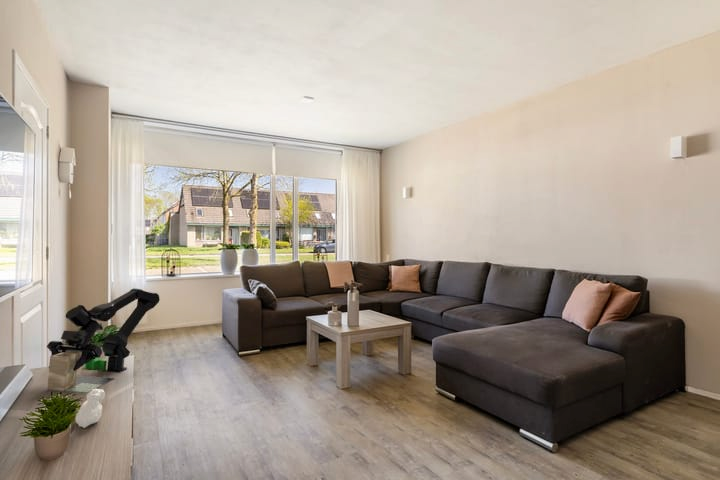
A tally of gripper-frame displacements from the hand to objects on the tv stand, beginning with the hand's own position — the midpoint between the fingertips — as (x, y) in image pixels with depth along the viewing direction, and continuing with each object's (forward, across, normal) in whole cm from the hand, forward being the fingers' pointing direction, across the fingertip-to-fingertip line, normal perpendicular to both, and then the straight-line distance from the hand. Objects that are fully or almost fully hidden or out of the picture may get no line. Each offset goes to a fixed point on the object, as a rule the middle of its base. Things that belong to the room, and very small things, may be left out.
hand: (61, 369), depth 148 cm
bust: (+21, +26, -9) cm, 35 cm away
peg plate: (+2, +4, +9) cm, 11 cm away
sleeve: (+4, 0, +5) cm, 7 cm away
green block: (-12, -6, +24) cm, 28 cm away
